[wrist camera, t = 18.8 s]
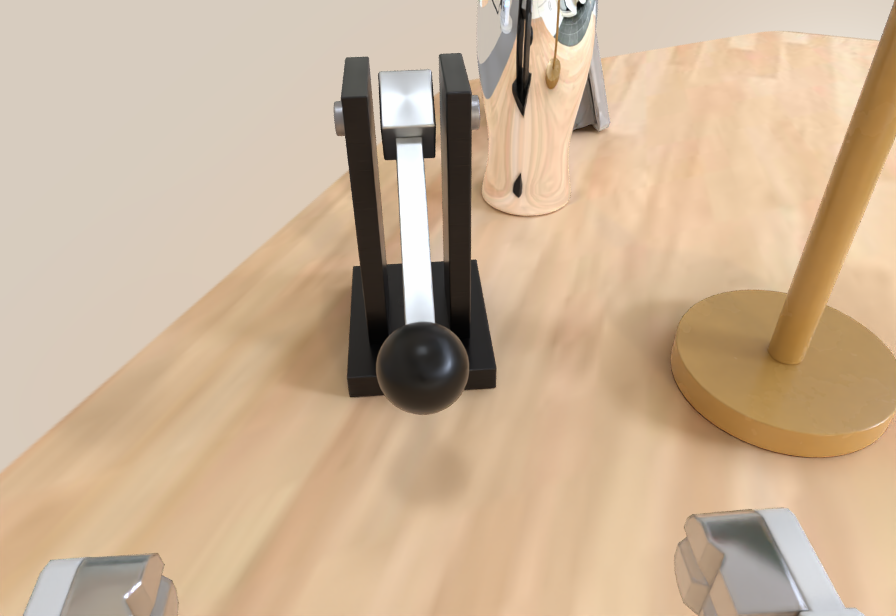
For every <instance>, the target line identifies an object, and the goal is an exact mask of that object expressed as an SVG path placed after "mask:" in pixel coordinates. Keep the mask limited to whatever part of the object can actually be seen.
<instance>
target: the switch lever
mask: <svg viewBox="0 0 896 616" xmlns="http://www.w3.org/2000/svg"><path fill="white" fill-rule="evenodd" d="M378 79H379V100H380V101H379V102H380V123H381V135H382V144H383V153H384V159H385V160H396V161H397V179H398V198H399V217H400V236H401V255H402V274H403V293H404V312H405V325H404V326H402V327H400V328H398V329H397V330H395V331H394V332H393V333H391V334H390V335H389V336H388V338H387V339H386V340H385V341H384V343H383V345H382V346H381V349H380V351H379V353H378V357H377V362H376V374H377V379H378V383H379V386H380V388H381V390H382V392H383V393H384V395H385V396H386V398H387V399H388V400H389V401H390V402H391V403H392V404H393V405H395V406H396V407H398V408H399V409H401V410H403V411H406V412H409V413H412V414H418V415H427V414H433V413H437V412H439V411H442V410H444V409H446V408H447V407H449V406H450V405H452V404H453V403H454V402H455V401H456V400H457V399H458V398H459V396H460V395H461V394H462V392H463V390H464V388H465V386H466V384H467V380H468V376H469V360H468V355H467V352H466V350H465V348H464V346H463V344H462V342H461V341H460V339H459V338H458V337H457V336H456V335H455V334H454V333H453V332H452V331H450V330H449V329H448V328H446V327H444V326H442V325H439V324H437V323H435V314H434V300H433V285H432V271H431V256H430V242H429V227H428V212H427V198H426V183H425V169H424V158H434V157H435V143H436V122H435V109H434V96H433V83H432V72H431V70H429V69H428V70H406V71H381V72H379V74H378Z"/></svg>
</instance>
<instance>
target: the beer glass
mask: <svg viewBox="0 0 896 616" xmlns="http://www.w3.org/2000/svg"><path fill="white" fill-rule="evenodd" d="M597 9H598V0H478V7H477V59H478V68H479V77H480V84H481V90H482V96H483V102H484V108H485V114H486V121H487V128H488V141H489V149H488V160H487V166H486V171H485V175H484V179H483V184H482V195H483V198H484V199H485V201H486V202H487V203H488V204H489V205H491V206H492V207H494V208H495V209H497V210H500V211H502V212H505V213H509V214H514V215H521V216H536V215H543V214H548V213H551V212H554V211H556V210H558V209H560V208H562V207H563V206H564V205H566V204H567V202H568V201H569V199H570V196H571V186H570V177H569V166H568V155H569V145H570V140H571V134H572V131H573V127H574V123H575V119H576V116H577V113H578V109H579V106H580V103H581V99H582V96H583V92H584V89H585V85H586V82H587V78H588V73H589V69H590V65H591V60H592V55H593V48H594V41H595V34H596V23H597Z"/></svg>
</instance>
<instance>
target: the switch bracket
mask: <svg viewBox="0 0 896 616" xmlns="http://www.w3.org/2000/svg"><path fill="white" fill-rule="evenodd" d="M439 83H440V125H441V167H442V209H443V251H444V261H441V262H431V271H432V285H433V300H434V314H435V323H437V324H439V325H442V326H444V327H446V328H448V329H449V330H450V331H452V332H453V333H454V334H455V335H456V336H457V337H458V338H459V339H460V341H461V342H462V344H463V346H464V348H465V350H466V352H467V355H468V360H469V376H468V380H467V384H466V386H465V388H464V390H469V389H484V388H495V387H496V364H495V358H494V353H493V347H492V342H491V336H490V331H489V325H488V320H487V315H486V309H485V304H484V298H483V293H482V287H481V282H480V276H479V271H478V266H477V260H471V147H472V130H478V129H479V127H480V104H479V98H478V96H477V95H472V92H471V88H470V84H469V80H468V76H467V73H466V69H465V65H464V61H463V57H462V54H461V53H451V54H440V55H439ZM334 121H335V129H336V134H337V136H345V139H346V147H347V156H348V165H349V174H350V182H351V191H352V200H353V208H354V217H355V225H356V234H357V243H358V251H359V260H360V266H354V267H353V277H352V296H351V314H350V332H349V351H348V369H347V382H348V388H349V395H350V397H360V396H375V395H384V393H383V392H382V390H381V388H380V386H379V383H378V379H377V374H376V362H377V357H378V353H379V351H380V349H381V346H382V345H383V343H384V341H385V340H386V339H387V338H388V336H389V335H390V334H391V333H393V332H394V331H395V330H397V329H398V328H400V327H402V326H404V325H405V312H404V293H403V274H402V264H387V263H386V251H385V240H384V228H383V216H382V205H381V193H380V182H379V170H378V159H377V147H376V136H375V124H374V112H373V101H372V91H371V78H370V68H369V58H368V57H351V58H346V59H345V66H344V76H343V84H342V92H341V101H337V102H335V103H334Z"/></svg>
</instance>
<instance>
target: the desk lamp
mask: <svg viewBox="0 0 896 616" xmlns="http://www.w3.org/2000/svg"><path fill="white" fill-rule="evenodd" d="M895 137H896V0H895V1H894V4H893V6H892V9H891V12H890V14H889V17H888V20H887V23H886V25H885V28H884V31H883V34H882V36H881V39H880V42H879V45H878V47H877V50H876V53H875V56H874V58H873V61H872V64H871V67H870V69H869V72H868V75H867V78H866V80H865V83H864V86H863V88H862V91H861V94H860V97H859V99H858V102H857V105H856V108H855V110H854V113H853V116H852V119H851V121H850V124H849V127H848V130H847V132H846V135H845V138H844V141H843V143H842V146H841V149H840V151H839V154H838V157H837V160H836V162H835V165H834V168H833V171H832V173H831V176H830V179H829V182H828V184H827V187H826V190H825V193H824V195H823V198H822V201H821V204H820V206H819V209H818V212H817V215H816V217H815V220H814V223H813V225H812V228H811V231H810V234H809V236H808V239H807V242H806V245H805V247H804V250H803V253H802V256H801V258H800V261H799V264H798V267H797V269H796V272H795V275H794V278H793V280H792V283H791V286H790V289H789V291H788V294H787V293H782V292H775V291H766V290H739V291H731V292H725V293H721V294H717V295H713V296H711V297H708V298H706V299H704V300H702V301H700V302H698V303H697V304H695V305H694V306H693V307H691V308H690V309H689V310H688V311H687V312H686V313H685V314H684V316H683V317H682V319H681V320H680V322H679V324H678V327H677V331H676V335H675V339H674V343H673V347H672V351H671V368H672V372H673V375H674V379H675V381H676V383H677V385H678V387H679V389H680V391H681V392H682V393H683V395H684V396H685V398H686V399H687V400H688V401H689V403H690V404H691V405H692V406H693V407H694V408H695V409H696V410H697V411H698V412H699V413H700V414H701V415H703V416H704V417H705V418H706V419H707V420H709V421H710V422H711V423H713V424H714V425H716V426H717V427H719V428H720V429H722V430H724V431H725V432H727V433H729V434H730V435H732V436H734V437H736V438H738V439H740V440H742V441H745V442H747V443H750V444H752V445H755V446H757V447H760V448H763V449H767V450H770V451H774V452H777V453H782V454H787V455H792V456H802V457H833V456H840V455H845V454H849V453H853V452H855V451H858V450H861V449H863V448H865V447H867V446H868V445H870V444H872V443H874V442H875V441H876V440H877V439H878V438H879V437H881V436H882V434H883V433H884V432H885V430H886V429H887V428H888V426H889V424H890V422H891V421H892V419H893V417H894V415H895V413H896V359H895V357H894V356H893V355H892V353H891V352H890V350H889V349H888V348H887V347H886V346H885V344H884V343H883V342H882V341H881V340H880V339H879V338H878V337H877V336H875V335H874V334H873V333H872V332H871V331H870V330H868V329H867V328H866V327H864V326H863V325H862V324H860V323H859V322H857V321H856V320H854V319H852V318H851V317H849V316H847V315H845V314H843V313H842V312H840V311H838V310H836V309H833V308H831V307H829V306H827V305H826V304H827V302H828V299H829V297H830V294H831V292H832V290H833V287H834V285H835V282H836V280H837V277H838V275H839V273H840V270H841V268H842V265H843V263H844V261H845V258H846V256H847V253H848V251H849V248H850V246H851V244H852V241H853V239H854V236H855V234H856V232H857V229H858V227H859V224H860V222H861V219H862V217H863V215H864V212H865V210H866V207H867V205H868V203H869V200H870V198H871V195H872V193H873V190H874V188H875V186H876V183H877V181H878V178H879V176H880V174H881V171H882V169H883V166H884V164H885V161H886V159H887V157H888V154H889V152H890V149H891V147H892V145H893V142H894V140H895Z"/></svg>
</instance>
